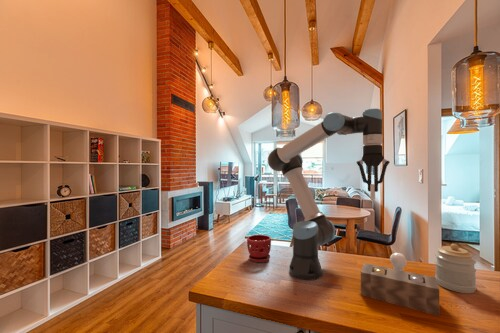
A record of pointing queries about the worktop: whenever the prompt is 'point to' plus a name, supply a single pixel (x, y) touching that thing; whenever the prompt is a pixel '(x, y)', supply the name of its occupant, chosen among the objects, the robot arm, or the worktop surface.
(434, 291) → the socket block
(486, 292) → the worktop surface
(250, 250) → the plant pot
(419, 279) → the steel peg
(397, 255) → the lightbulb
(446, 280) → the jar
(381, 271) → the brass peg
